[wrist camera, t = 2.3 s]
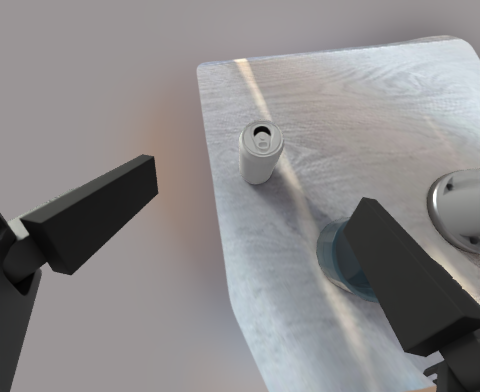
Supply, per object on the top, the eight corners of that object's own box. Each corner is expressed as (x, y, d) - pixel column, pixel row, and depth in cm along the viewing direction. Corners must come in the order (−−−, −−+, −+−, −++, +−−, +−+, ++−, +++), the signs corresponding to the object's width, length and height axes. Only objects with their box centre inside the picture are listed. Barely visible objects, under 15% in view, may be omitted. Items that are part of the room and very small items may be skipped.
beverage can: (270, 154, 36) (283, 115, 25) (272, 185, 35) (288, 158, 23) (238, 156, 36) (237, 117, 25) (240, 186, 35) (239, 160, 23)
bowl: (371, 214, 34) (399, 209, 28) (394, 284, 31) (430, 295, 25) (308, 224, 33) (322, 221, 27) (324, 295, 30) (344, 309, 25)
